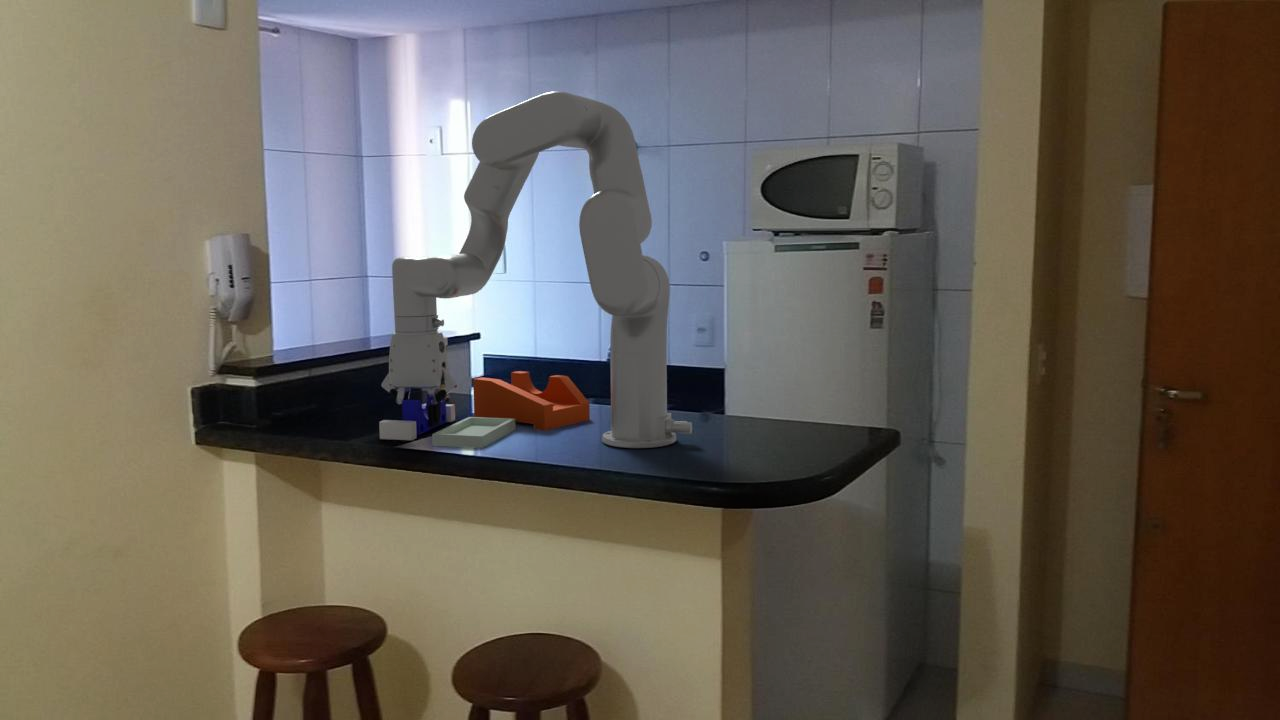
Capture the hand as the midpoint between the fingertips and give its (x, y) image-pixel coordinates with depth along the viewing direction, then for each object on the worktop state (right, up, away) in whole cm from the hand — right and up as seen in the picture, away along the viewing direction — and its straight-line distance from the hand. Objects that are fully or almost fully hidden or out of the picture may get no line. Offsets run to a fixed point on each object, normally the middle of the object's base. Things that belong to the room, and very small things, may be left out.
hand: (420, 423), depth 194 cm
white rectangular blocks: (0, -1, 0) cm, 1 cm away
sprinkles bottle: (-3, +3, +32) cm, 33 cm away
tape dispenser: (+19, 0, +8) cm, 21 cm away
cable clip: (0, -1, +1) cm, 1 cm away
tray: (+11, -2, -8) cm, 14 cm away
